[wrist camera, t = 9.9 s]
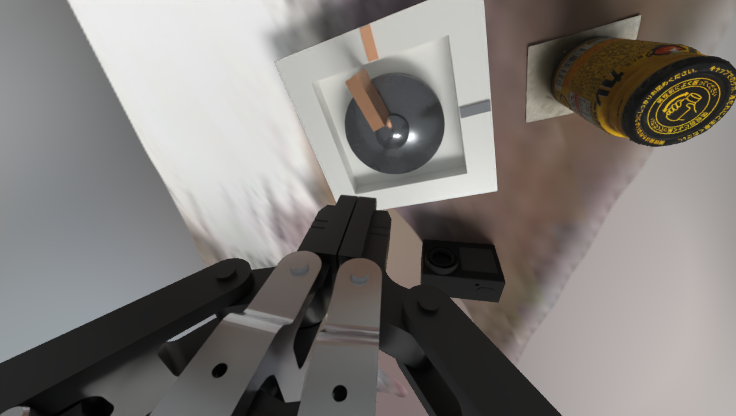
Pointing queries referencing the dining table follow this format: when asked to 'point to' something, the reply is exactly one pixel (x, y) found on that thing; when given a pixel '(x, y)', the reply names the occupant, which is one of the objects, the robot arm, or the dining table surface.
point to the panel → (423, 60)
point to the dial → (393, 121)
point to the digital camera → (462, 270)
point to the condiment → (629, 84)
